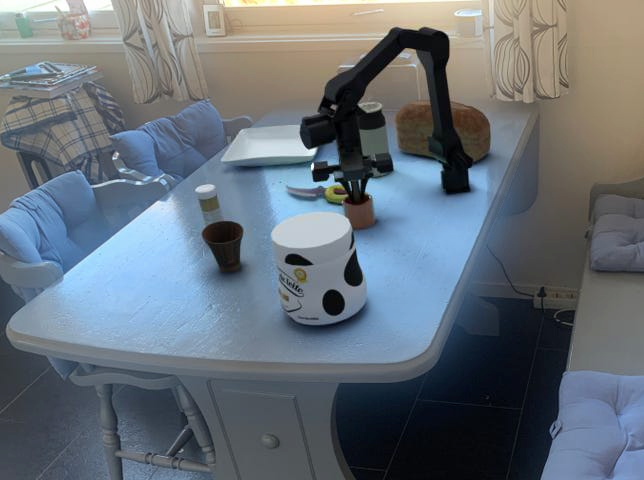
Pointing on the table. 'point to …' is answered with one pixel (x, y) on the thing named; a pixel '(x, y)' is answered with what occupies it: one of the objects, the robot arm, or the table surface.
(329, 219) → the milk container
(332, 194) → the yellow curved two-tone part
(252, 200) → the table surface
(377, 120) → the travel mug
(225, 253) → the cup
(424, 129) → the bread
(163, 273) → the table surface
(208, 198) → the sprinkles bottle
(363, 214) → the terracotta cup
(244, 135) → the square plate
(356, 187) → the walnut stick
